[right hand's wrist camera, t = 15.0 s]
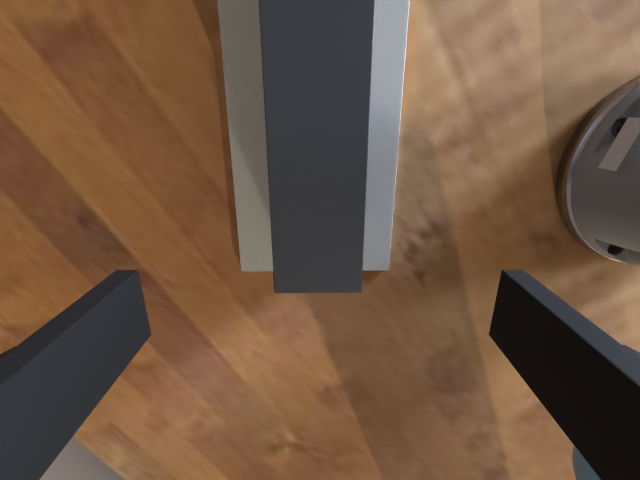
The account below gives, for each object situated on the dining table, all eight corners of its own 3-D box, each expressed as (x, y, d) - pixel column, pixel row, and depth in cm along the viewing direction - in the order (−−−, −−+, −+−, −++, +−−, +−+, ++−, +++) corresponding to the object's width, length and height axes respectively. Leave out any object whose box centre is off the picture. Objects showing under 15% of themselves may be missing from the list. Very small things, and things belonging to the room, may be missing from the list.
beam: (268, -289, 18) (220, -706, 9) (361, -289, 18) (407, -700, 9) (287, 235, 29) (274, 293, 19) (346, 234, 29) (361, 292, 20)
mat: (187, -354, 18) (184, -366, 18) (434, -350, 18) (437, -362, 18) (242, 269, 30) (241, 271, 30) (387, 268, 31) (388, 270, 30)
